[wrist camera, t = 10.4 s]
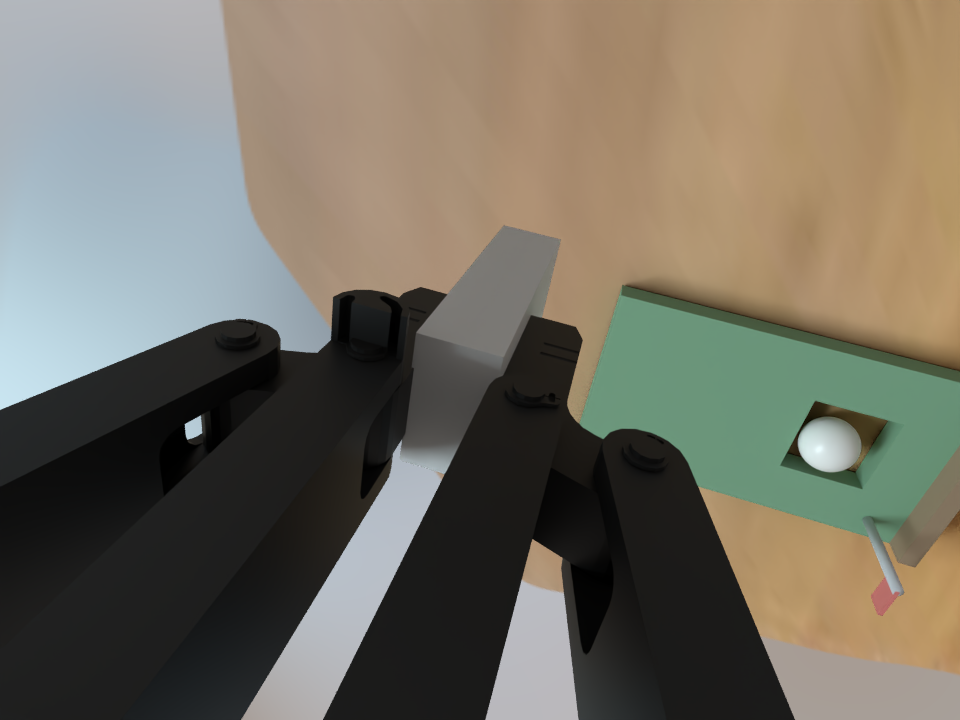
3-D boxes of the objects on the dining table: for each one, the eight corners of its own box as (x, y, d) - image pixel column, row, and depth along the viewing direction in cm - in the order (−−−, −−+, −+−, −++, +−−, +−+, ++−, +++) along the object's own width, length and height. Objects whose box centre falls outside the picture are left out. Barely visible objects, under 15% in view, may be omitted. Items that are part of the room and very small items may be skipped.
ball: (804, 400, 45) (819, 429, 42) (861, 413, 45) (880, 444, 41) (784, 443, 47) (796, 475, 44) (837, 456, 47) (854, 489, 43)
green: (622, 285, 45) (614, 337, 37) (1002, 382, 41) (1081, 462, 33) (573, 443, 52) (557, 514, 45) (891, 537, 49) (934, 632, 41)
